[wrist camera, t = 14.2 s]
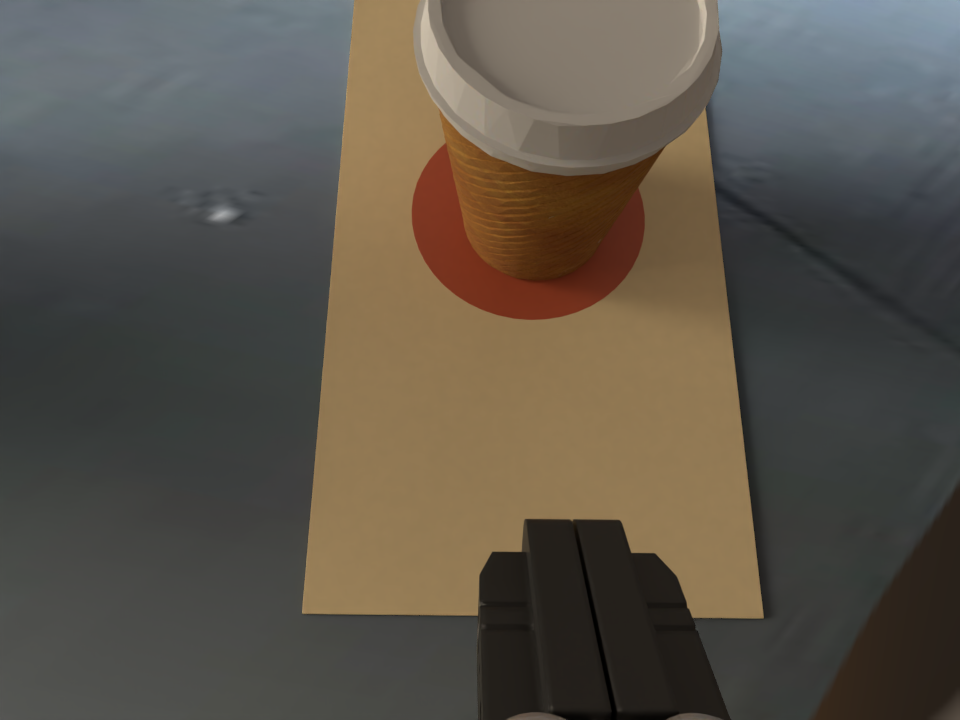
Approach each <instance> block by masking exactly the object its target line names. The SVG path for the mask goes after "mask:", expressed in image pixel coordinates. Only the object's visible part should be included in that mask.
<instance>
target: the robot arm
mask: <svg viewBox="0 0 960 720" xmlns="http://www.w3.org/2000/svg"><path fill="white" fill-rule="evenodd" d="M477 686H478V720H731V719H730V717H729V714H728V712H727V709H726V706H725V703H724V701H723V698H722V695H721V693H720V690H719V687H718V685H717V682H716V679H715V677H714V674H713V671H712V669H711V666H710V663H709V661H708V658H707V655H706V653H705V650H704V647H703V645H702V642H701V639H700V637H699V634H698V631H696V630H695V623H694V620H693V618H692V615H691V612H690V610H689V608H687V602H686V599H685V596H684V594H683V591H682V588H681V586H680V583H679V580H678V578H677V576H676V575H675V574H674V573H673V572H672V570H671V569H670V568H669V567H668V566H667V565H666V564H665V563H664V562H663V561H662V560H661V559H660V558H659V557H658V556H657V555H656V554H655V553H631V550H630V547H629V544H628V541H627V537H626V534H625V531H624V527H623V525H622V522H621V521H620V520H605V519H573V521H571V519H525V520H524V525H523V538H522V552H492V553H491V555H490V557H489V558H488V560H487V562H486V564H485V566H484V567H483V569H482V571H481V573H480V574H479V600H478V629H477Z"/></svg>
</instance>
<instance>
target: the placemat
mask: <svg viewBox="0 0 960 720" xmlns="http://www.w3.org/2000/svg"><path fill="white" fill-rule="evenodd" d="M419 2H420V0H355V1H354V13H353V24H352V36H351V48H350V59H349V71H348V83H347V95H346V106H345V118H344V130H343V141H342V153H341V165H340V176H339V188H338V200H337V211H336V223H335V235H334V247H333V258H332V270H331V282H330V293H329V305H328V317H327V328H326V340H325V352H324V363H323V375H322V387H321V399H320V410H319V422H318V434H317V445H316V457H315V469H314V480H313V492H312V504H311V515H310V527H309V539H308V551H307V562H306V574H305V586H304V597H303V609H302V614H361V615H461V616H478V600H479V574H480V573H481V571H482V569H483V567H484V566H485V564H486V562H487V560H488V558H489V557H490V555H491V553H492V552H522V538H523V525H524V520H525V519H571V521H573V519H605V520H620V521H621V522H622V525H623V527H624V531H625V534H626V537H627V541H628V544H629V547H630V550H631V553H655V554H656V555H657V556H658V557H659V558H660V559H661V560H662V561H663V562H664V563H665V564H666V565H667V566H668V567H669V568H670V569H671V570H672V572H673V573H674V574H675V575H676V576H677V578H678V580H679V583H680V586H681V588H682V591H683V594H684V596H685V599H686V602H687V608H689V610H690V612H691V615H692V618H762V619H763V618H764V615H763V606H762V598H761V589H760V580H759V571H758V563H757V554H756V545H755V536H754V528H753V519H752V510H751V501H750V493H749V484H748V475H747V466H746V458H745V449H744V440H743V431H742V423H741V414H740V405H739V396H738V388H737V379H736V370H735V361H734V353H733V344H732V335H731V326H730V318H729V309H728V300H727V291H726V283H725V274H724V265H723V256H722V248H721V239H720V230H719V222H718V213H717V204H716V195H715V187H714V178H713V169H712V160H711V152H710V143H709V134H708V125H707V117H706V108H705V109H704V110H703V112H702V113H701V115H700V116H699V117H698V118H697V119H696V120H695V122H694V123H693V124H692V125H691V126H690V127H689V128H688V130H687V131H686V132H685V133H684V134H682V135H681V136H679V137H678V138H676V139H675V140H674V141H672V142H671V143H669V144H668V145H666V146H665V148H664V150H663V151H662V153H661V154H660V155H659V157H658V158H657V160H656V162H655V163H654V164H653V166H652V167H651V169H650V171H649V172H648V173H647V175H646V176H645V178H644V180H643V181H642V182H641V184H640V185H639V187H638V189H637V190H636V191H635V193H634V194H633V195H632V197H631V199H630V200H629V202H628V203H627V205H626V206H625V208H624V209H623V211H622V213H621V214H620V215H619V217H618V218H617V220H616V221H615V222H614V224H613V226H612V227H611V229H610V230H609V231H608V233H607V235H606V236H605V237H604V239H603V240H602V242H601V243H600V245H599V247H598V248H597V250H596V251H595V253H594V255H593V256H592V257H591V258H590V259H589V260H588V261H587V262H586V263H585V264H584V265H583V266H581V267H580V268H578V269H577V270H575V271H574V272H572V273H570V274H567V275H565V276H562V277H560V278H555V279H550V280H536V281H533V280H526V279H518V278H515V277H512V276H509V275H506V274H504V273H502V272H500V271H499V270H497V269H495V268H493V267H491V266H490V265H489V264H488V263H486V262H485V261H484V260H483V259H482V258H481V257H480V256H479V255H478V254H477V252H476V251H475V250H474V249H473V247H472V245H471V243H470V241H469V239H468V237H467V235H466V231H465V228H464V222H463V217H462V212H461V208H460V203H459V198H458V195H457V189H456V186H455V181H454V178H453V171H452V168H451V162H450V158H449V154H448V150H447V144H446V141H445V138H444V136H445V135H444V132H443V128H442V122H441V119H440V115H439V114H440V112H439V109H438V106H437V105H436V104H435V102H434V101H433V100H432V99H431V97H430V95H429V93H428V90H427V88H426V86H425V84H424V82H423V80H422V78H421V76H420V74H419V70H418V66H417V62H416V57H415V53H414V39H413V27H414V22H415V17H416V12H417V7H418V5H419Z"/></svg>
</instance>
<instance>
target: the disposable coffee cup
mask: <svg viewBox="0 0 960 720" xmlns="http://www.w3.org/2000/svg"><path fill="white" fill-rule="evenodd" d="M413 39H414V53H415V57H416V62H417V66H418V70H419V74H420V76H421V78H422V80H423V82H424V84H425V86H426V88H427V90H428V93H429V95H430V97H431V99H432V100H433V101H434V102H435V104H436V105H437V106H438V109H439V112H440V114H439V115H440V119H441V122H442V128H443V132H444V135H445V136H444V138H445V141H446V144H447V150H448V154H449V158H450V162H451V168H452V171H453V178H454V181H455V186H456V189H457V195H458V198H459V203H460V208H461V212H462V217H463V222H464V228H465V231H466V235H467V237H468V239H469V241H470V243H471V245H472V247H473V249H474V250H475V251H476V252H477V254H478V255H479V256H480V257H481V258H482V259H483V260H484V261H485V262H486V263H488V264H489V265H490V266H491V267H493V268H495V269H497V270H499V271H500V272H502V273H504V274H506V275H509V276H512V277H515V278H518V279H526V280H533V281H536V280H550V279H555V278H560V277H562V276H565V275H567V274H570V273H572V272H574V271H575V270H577V269H578V268H580V267H581V266H583V265H584V264H585V263H586V262H587V261H588V260H589V259H590V258H591V257H592V256H593V255H594V253H595V251H596V250H597V248H598V247H599V245H600V243H601V242H602V240H603V239H604V237H605V236H606V235H607V233H608V231H609V230H610V229H611V227H612V226H613V224H614V222H615V221H616V220H617V218H618V217H619V215H620V214H621V213H622V211H623V209H624V208H625V206H626V205H627V203H628V202H629V200H630V199H631V197H632V195H633V194H634V193H635V191H636V190H637V189H638V187H639V185H640V184H641V182H642V181H643V180H644V178H645V176H646V175H647V173H648V172H649V171H650V169H651V167H652V166H653V164H654V163H655V162H656V160H657V158H658V157H659V155H660V154H661V153H662V151H663V150H664V148H665V146H666V145H668V144H669V143H671V142H672V141H674V140H675V139H676V138H678V137H679V136H681V135H682V134H684V133H685V132H686V131H687V130H688V128H689V127H690V126H691V125H692V124H693V123H694V122H695V120H696V119H697V118H698V117H699V116H700V115H701V113H702V112H703V110H704V109H705V107H706V106H707V104H708V102H709V100H710V98H711V96H712V93H713V91H714V89H715V87H716V85H717V82H718V78H719V71H720V64H721V57H722V46H721V40H720V33H719V18H718V3H717V0H420V2H419V5H418V7H417V12H416V17H415V22H414V27H413Z"/></svg>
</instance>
